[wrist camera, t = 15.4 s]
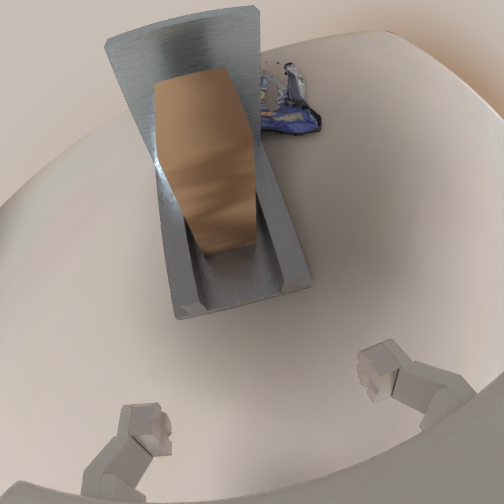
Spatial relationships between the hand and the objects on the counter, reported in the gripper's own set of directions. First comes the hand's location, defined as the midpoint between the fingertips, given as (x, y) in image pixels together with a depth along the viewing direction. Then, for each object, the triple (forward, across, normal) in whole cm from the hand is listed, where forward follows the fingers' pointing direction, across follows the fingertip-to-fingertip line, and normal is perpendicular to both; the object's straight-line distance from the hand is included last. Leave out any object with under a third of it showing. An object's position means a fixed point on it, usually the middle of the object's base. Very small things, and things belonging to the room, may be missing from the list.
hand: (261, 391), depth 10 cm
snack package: (+25, -8, -11) cm, 28 cm away
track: (+15, 0, -2) cm, 15 cm away
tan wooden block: (+14, 0, -3) cm, 15 cm away
